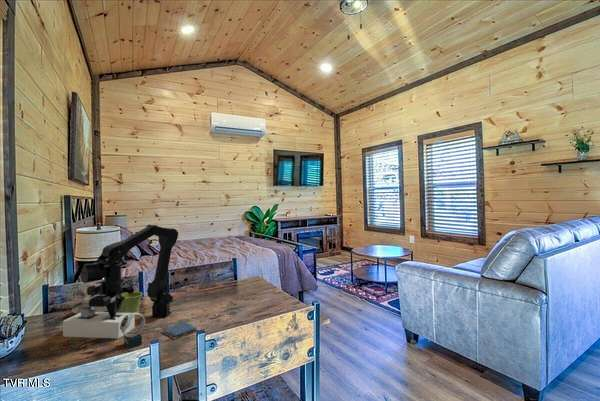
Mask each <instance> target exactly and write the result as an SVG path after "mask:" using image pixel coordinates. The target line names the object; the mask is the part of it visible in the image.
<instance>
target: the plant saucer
mask: <svg viewBox="0 0 600 401" xmlns="http://www.w3.org/2000/svg"><path fill="white" fill-rule="evenodd" d="M84 305H89V301H88V302H84V303H80V304H79V305H76V306H75V307H72V309H71V313H72V314H73V316H74V315H77V314H79V313H81V307H82V306H84ZM120 309H122V303H121V305H120V307H119V309H118V311H120ZM95 312H108V310H107V308H106V306H104V307H95Z"/></svg>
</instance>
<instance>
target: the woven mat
mask: <svg viewBox="0 0 600 401" xmlns="http://www.w3.org/2000/svg"><path fill="white" fill-rule="evenodd" d="M198 331H199V330H198V327H197V326H195V325H193V324H191V323H189V322H187V321H183V322H181V323H179V322H178V323H177V324H174V325H171V326H169V327H168V326H167V327H163V329H162V331H161V333H163V334H164V335H166V336H169V337H170V338H171V339H173V340H176V339H179V338H182V337H184V336H189V335H190V334H193V333H196V332H198Z"/></svg>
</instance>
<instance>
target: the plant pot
mask: <svg viewBox="0 0 600 401" xmlns="http://www.w3.org/2000/svg"><path fill="white" fill-rule="evenodd" d="M121 295H122V297H125V299H124V300H123V301H122V307H121V309H122V313H139V311H140V305H141V299H142V296H143V292H141V291H134V292H133V293H131V294H128V293H127V292H124V293H122V294H121Z"/></svg>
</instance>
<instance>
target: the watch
mask: <svg viewBox="0 0 600 401" xmlns="http://www.w3.org/2000/svg"><path fill="white" fill-rule="evenodd" d="M134 315H135V316H141V318H142V319H141V321H140V325H139V326H138V328H137V330H136V331H134V332H130V333H126V334H125V333H124V332H125V330H126V329H127V328H128V327H129V325H130V323H131V319H132V318H133V316H134ZM145 324H146V318H145V316H144V315H143V314H142V313H139V312H138V313H131V314H129V315H126V316H125V317H124V318H123V320H122V322H121V324H120V329H121V332H122V333H123V334H124V335H123V343H124V346H126V348H127V349H128V350H130V349H133V348H136V347H139V346H142V345H143V335H141V333H142V331H144V330H143V329H144V328H145V326H146V325H145Z"/></svg>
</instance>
